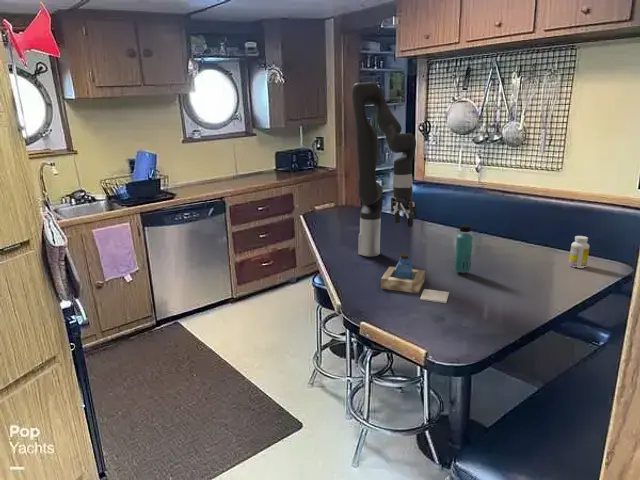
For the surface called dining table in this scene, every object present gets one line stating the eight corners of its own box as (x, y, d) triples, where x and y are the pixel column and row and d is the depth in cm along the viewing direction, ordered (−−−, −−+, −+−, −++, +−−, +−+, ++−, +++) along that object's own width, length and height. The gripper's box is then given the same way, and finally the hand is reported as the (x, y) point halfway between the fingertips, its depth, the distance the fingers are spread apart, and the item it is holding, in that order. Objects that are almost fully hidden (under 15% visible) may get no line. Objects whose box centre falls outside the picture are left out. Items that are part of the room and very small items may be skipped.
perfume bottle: (411, 287, 174) (412, 257, 171) (394, 286, 175) (395, 256, 172) (411, 281, 180) (413, 252, 177) (395, 280, 181) (396, 251, 178)
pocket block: (380, 288, 174) (381, 278, 173) (389, 275, 186) (389, 266, 185) (418, 293, 169) (419, 283, 168) (424, 280, 182) (425, 270, 180)
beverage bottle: (461, 277, 184) (465, 228, 179) (449, 272, 190) (453, 224, 184) (473, 274, 187) (477, 226, 182) (461, 269, 193) (465, 223, 187)
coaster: (420, 299, 164) (420, 298, 163) (424, 290, 172) (424, 288, 171) (446, 303, 160) (446, 301, 160) (449, 293, 168) (449, 292, 168)
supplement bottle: (585, 265, 197) (590, 236, 193) (586, 270, 191) (591, 240, 188) (567, 263, 200) (572, 234, 196) (568, 267, 194) (573, 238, 190)
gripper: (384, 184, 188) (385, 223, 192) (405, 188, 175) (406, 230, 180) (400, 182, 191) (400, 220, 195) (421, 186, 178) (421, 226, 183)
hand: (403, 224), depth 188 cm, fingers open, 8 cm apart
